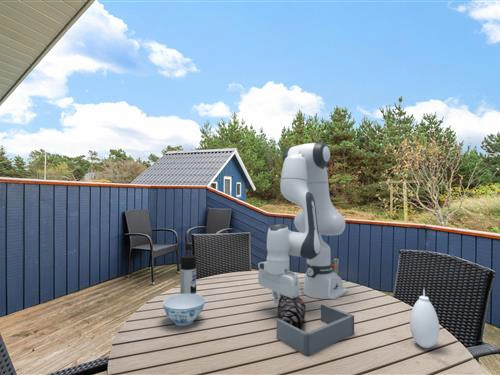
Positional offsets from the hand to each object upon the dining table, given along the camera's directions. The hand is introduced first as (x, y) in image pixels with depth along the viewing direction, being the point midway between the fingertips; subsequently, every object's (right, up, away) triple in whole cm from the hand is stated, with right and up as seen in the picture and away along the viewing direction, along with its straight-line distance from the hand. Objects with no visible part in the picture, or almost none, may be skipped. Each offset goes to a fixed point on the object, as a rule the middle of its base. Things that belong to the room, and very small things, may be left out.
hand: (277, 303), depth 112 cm
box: (+11, -5, -15) cm, 19 cm away
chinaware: (-35, -5, -5) cm, 36 cm away
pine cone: (+4, -5, -9) cm, 11 cm away
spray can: (-37, -5, +13) cm, 40 cm away
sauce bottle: (+44, -5, -21) cm, 49 cm away
